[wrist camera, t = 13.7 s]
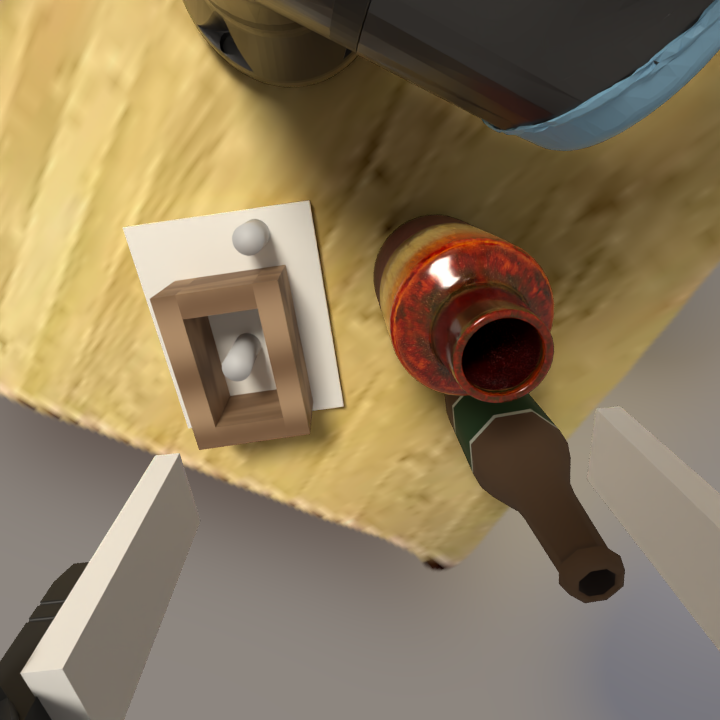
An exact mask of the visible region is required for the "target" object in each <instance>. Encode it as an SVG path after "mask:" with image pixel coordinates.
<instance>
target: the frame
mask: <svg viewBox="0 0 720 720" xmlns="http://www.w3.org/2000/svg"><path fill="white" fill-rule="evenodd" d="M150 302H151V305H152V308H153V311H154V314H155V317H156V320H157V323H158V326H159V329H160V332H161V335H162V338H163V341H164V344H165V347H166V350H167V354H168V357H169V360H170V363H171V366H172V369H173V372H174V375H175V378H176V381H177V384H178V387H179V390H180V393H181V396H182V399H183V402H184V405H185V408H186V411H187V414H188V417H189V420H190V423H191V426H192V429H193V432H194V435H195V438H196V442H197V445H198V448H199V450H202V449H209V448H216V447H223V446H230V445H237V444H244V443H251V442H258V441H265V440H272V439H279V438H286V437H293V436H300V435H307V434H310V430H311V420H312V410H313V398H312V393H311V388H310V383H309V378H308V373H307V369H306V364H305V359H304V354H303V349H302V344H301V339H300V334H299V329H298V324H297V319H296V314H295V309H294V304H293V299H292V294H291V289H290V284H289V279H288V274H287V269H286V265H279V266H273V267H266V268H259V269H252V270H246V271H239V272H232V273H225V274H218V275H212V276H205V277H198V278H191V279H185V280H178V281H174V282H173V283H171V284H170V285H168V286H167V287H166V288H164V289H163V290H161V291H160V292H159V293H157V294H156V295H154V296H153V297H151V298H150ZM252 309H258V312H259V316H260V321H261V325H262V329H263V333H264V338H265V342H266V346H267V350H268V355H269V359H270V363H271V367H272V372H273V376H274V380H275V384H276V389H275V390H268V391H261V392H254V393H247V394H240V395H233V396H230V393H229V390H228V386H227V383H226V379H225V376H224V373H223V371H222V365H221V361H220V358H219V354H218V351H217V347H216V344H215V340H214V337H213V333H212V329H211V326H210V322H209V319H208V316H211V315H218V314H224V313H231V312H238V311H245V310H252Z"/></svg>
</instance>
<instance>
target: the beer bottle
mask: <svg viewBox="0 0 720 720" xmlns="http://www.w3.org/2000/svg"><path fill="white" fill-rule="evenodd" d="M445 402H446V411H447V414H448V417H449V420H450V423H451V425H452V427H453V429H454V432H455V434H456V436H457V438H458V441H459V443H460V445H461V447H462V450H463V452H464V454H465V456H466V458H467V461H468V463H469V465H470V467H471V470H472V472H473V474H474V476H475V478H476V479H477V481H478V483H479V484H480V486H481V487H482V488H483V489H484V490H485V491H487V492H488V493H489V494H490V495H492V496H493V497H495V498H496V499H498V500H500V501H501V502H503V503H505V504H506V505H508V506H510V507H511V508H513V509H515V510H516V511H519V513H520V514H521V515H522V516H523V517H524V519H525V520H526V522H527V523H528V525H529V526H530V528H531V529H532V531H533V533H534V534H535V536H536V537H537V539H538V540H539V542H540V544H541V545H542V547H543V548H544V550H545V552H546V553H547V554H548V556H549V558H550V559H551V561H552V562H553V564H554V566H555V567H556V569H557V570H558V572H559V584H560V585H561V586H562V587H563V588H564V590H565V591H566V592H567V593H568V594H569V595H571V596H573V597H575V598H577V599H578V600H580V601H582V602H584V603H589V602H596V601H602V600H607V599H608V598H609V597H611V596H612V595H613V594H614V593H616V592H617V591H618V590H619V589H620V588H622V587H623V585H624V574H625V569H624V566H623V563H622V560H621V557H620V555H618V554H616V553H615V552H613V551H611V550H610V549H608V547H607V546H606V544H605V542H604V541H603V539H602V538H601V536H600V534H599V533H598V531H597V529H596V528H595V526H594V525H593V523H592V522H591V520H590V518H589V516H588V515H587V513H586V512H585V510H584V508H583V507H582V505H581V503H580V502H579V500H578V499H577V497H576V495H575V494H574V491H573V489H572V487H571V485H570V459H571V458H570V453H569V447H568V443H567V441H566V440H565V438H564V437H563V435H562V434H561V432H560V430H559V429H558V428H557V427H556V426H555V424H554V423H553V422H552V421H551V420H550V418H549V417H548V416H547V415H546V414H545V413H544V411H543V410H542V409H541V408H540V407H539V405H538V404H537V403H536V402H535V401H534V399H533V398H532V397H531V396H530V395H529V394H526V395H525V396H523V397H520V398H518V399H516V400H512V401H509V402H504V403H489V402H484V401H480V400H478V399H476V398H473V397H472V396H457V395H448V394H445Z"/></svg>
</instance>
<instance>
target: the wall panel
mask: <svg viewBox="0 0 720 720" xmlns="http://www.w3.org/2000/svg"><path fill="white" fill-rule="evenodd" d="M123 230H124V233H125V236H126V239H127V242H128V245H129V248H130V251H131V255H132V258H133V261H134V264H135V267H136V270H137V273H138V276H139V279H140V282H141V285H142V288H143V291H144V294H145V297H146V300H147V303H148V306H149V309H150V312H151V316H152V319H153V322H154V325H155V328H156V331H157V334H158V337H159V340H160V343H161V346H162V349H163V352H164V355H165V358H166V361H167V364H168V367H169V370H170V373H171V376H172V380H173V383H174V386H175V389H176V392H177V395H178V398H179V401H180V404H181V407H182V410H183V413H184V416H185V419H186V422H187V425H188V428H192V426H191V423H190V420H189V417H188V414H187V411H186V408H185V405H184V402H183V399H182V396H181V393H180V390H179V387H178V384H177V381H176V378H175V375H174V372H173V369H172V366H171V363H170V360H169V357H168V354H167V350H166V347H165V344H164V341H163V338H162V335H161V332H160V329H159V326H158V323H157V320H156V317H155V314H154V311H153V308H152V305H151V302H150V298H151V297H153V296H154V295H156V294H157V293H159V292H160V291H161V290H163V289H164V288H166V287H167V286H168V285H170V284H171V283H173V282H174V281H178V280H185V279H191V278H198V277H205V276H212V275H218V274H225V273H232V272H239V271H246V270H252V269H259V268H266V267H273V266H279V265H286V269H287V274H288V279H289V284H290V289H291V294H292V299H293V304H294V309H295V314H296V319H297V324H298V329H299V334H300V339H301V344H302V349H303V354H304V359H305V364H306V369H307V373H308V378H309V383H310V388H311V393H312V398H313V410H312V411H315V410H322V409H329V408H336V407H344V405H343V396H342V390H341V384H340V378H339V372H338V366H337V361H336V355H335V349H334V343H333V337H332V331H331V325H330V319H329V313H328V307H327V301H326V295H325V289H324V283H323V277H322V271H321V265H320V259H319V253H318V247H317V241H316V235H315V229H314V223H313V217H312V211H311V205H310V200H307V201H300V202H293V203H286V204H279V205H272V206H265V207H258V208H251V209H245V210H238V211H231V212H224V213H217V214H210V215H203V216H196V217H189V218H182V219H175V220H168V221H161V222H154V223H147V224H141V225H134V226H127V227H124V228H123ZM208 319H209V322H210V326H211V329H212V333H213V337H214V340H215V344H216V347H217V351H218V354H219V358H220V361H221V365H222V371H223V373H224V376H225V379H226V383H227V386H228V390H229V393H230V396H233V395H240V394H247V393H254V392H261V391H268V390H275V389H276V384H275V380H274V376H273V372H272V367H271V363H270V359H269V355H268V350H267V346H266V342H265V338H264V333H263V329H262V325H261V321H260V316H259V312H258V309H252V310H245V311H238V312H231V313H224V314H218V315H211V316H208Z"/></svg>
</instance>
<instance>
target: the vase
mask: <svg viewBox="0 0 720 720" xmlns="http://www.w3.org/2000/svg"><path fill="white" fill-rule="evenodd" d="M374 286H375V292H376V295H377V298H378V302H379V305H380V308H381V311H382V314H383V318H384V321H385V324H386V327H387V330H388V333H389V336H390V339H391V342H392V345H393V348H394V351H395V354H396V355H397V357H398V359H399V361H400V363H401V364H402V365H403V367H404V368H405V369H406V370H407V372H408V373H409V374H410V375H411V376H412V377H413V378H415V379H416V380H417V381H418V382H420V383H421V384H423V385H425V386H426V387H428V388H430V389H433V390H435V391H437V392H441V393H445V394H448V395H457V396H472V397H473V398H476V399H478V400H480V401H484V402H489V403H504V402H509V401H512V400H516V399H518V398H520V397H523V396H525V395H526V394H528V393H529V392H531V391H532V390H533V389H534V388H536V387H537V386H538V385H539V384H540V383H541V381H542V380H543V379H544V377H545V376H546V375H547V373H548V371H549V369H550V367H551V364H552V361H553V355H554V344H553V338H552V336H551V333H550V332H551V329H552V325H553V318H554V298H553V293H552V288H551V286H550V283H549V280H548V278H547V276H546V274H545V273H544V271H543V269H542V267H541V266H540V265H539V264H538V263H537V262H536V260H535V259H534V258H533V257H532V256H531V255H529V254H528V253H527V252H526V251H524V250H523V249H521V248H520V247H518V246H516V245H514V244H512V243H510V242H508V241H506V240H504V239H502V238H500V237H497V236H495V235H493V234H490V233H488V232H486V231H484V230H481V229H479V228H477V227H475V226H472V225H470V224H468V223H465V222H463V221H461V220H458V219H456V218H452V217H449V216H444V215H426V216H421V217H418V218H415V219H412V220H410V221H408V222H406V223H404V224H403V225H401V226H400V227H399V228H397V229H396V230H395V231H394V232H393V233H392V234H391V235H390V236H389V237H388V238H387V239H386V241H385V242H384V244H383V245H382V247H381V249H380V251H379V253H378V255H377V258H376V262H375V267H374Z"/></svg>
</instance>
